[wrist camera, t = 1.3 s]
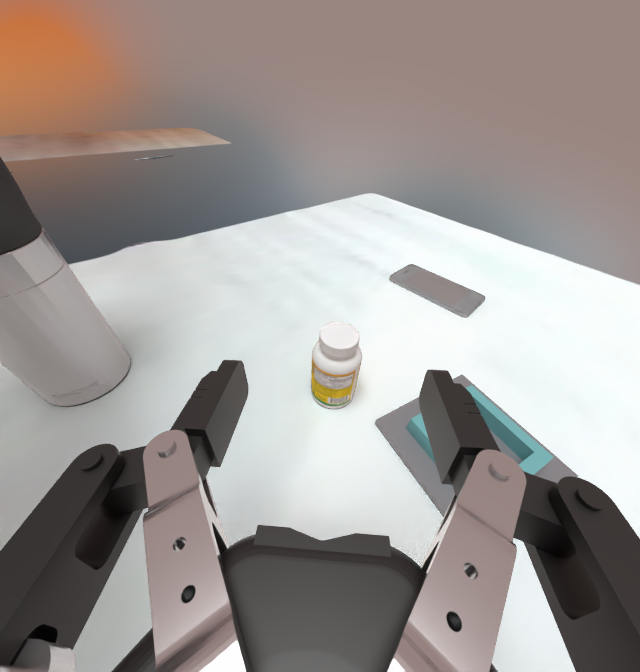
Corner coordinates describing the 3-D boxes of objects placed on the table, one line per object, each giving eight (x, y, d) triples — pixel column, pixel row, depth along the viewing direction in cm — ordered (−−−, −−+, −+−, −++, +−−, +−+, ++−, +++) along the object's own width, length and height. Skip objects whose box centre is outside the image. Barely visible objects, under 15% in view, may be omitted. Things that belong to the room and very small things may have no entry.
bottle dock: (374, 423, 30) (379, 410, 28) (459, 378, 35) (468, 364, 34) (480, 566, 22) (497, 561, 20) (572, 478, 27) (593, 468, 25)
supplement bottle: (337, 418, 31) (346, 363, 24) (301, 393, 33) (301, 337, 26) (362, 388, 34) (376, 332, 27) (327, 367, 36) (333, 310, 29)
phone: (464, 321, 45) (467, 315, 44) (386, 281, 53) (387, 276, 52) (483, 302, 49) (487, 296, 48) (409, 268, 57) (410, 263, 57)
